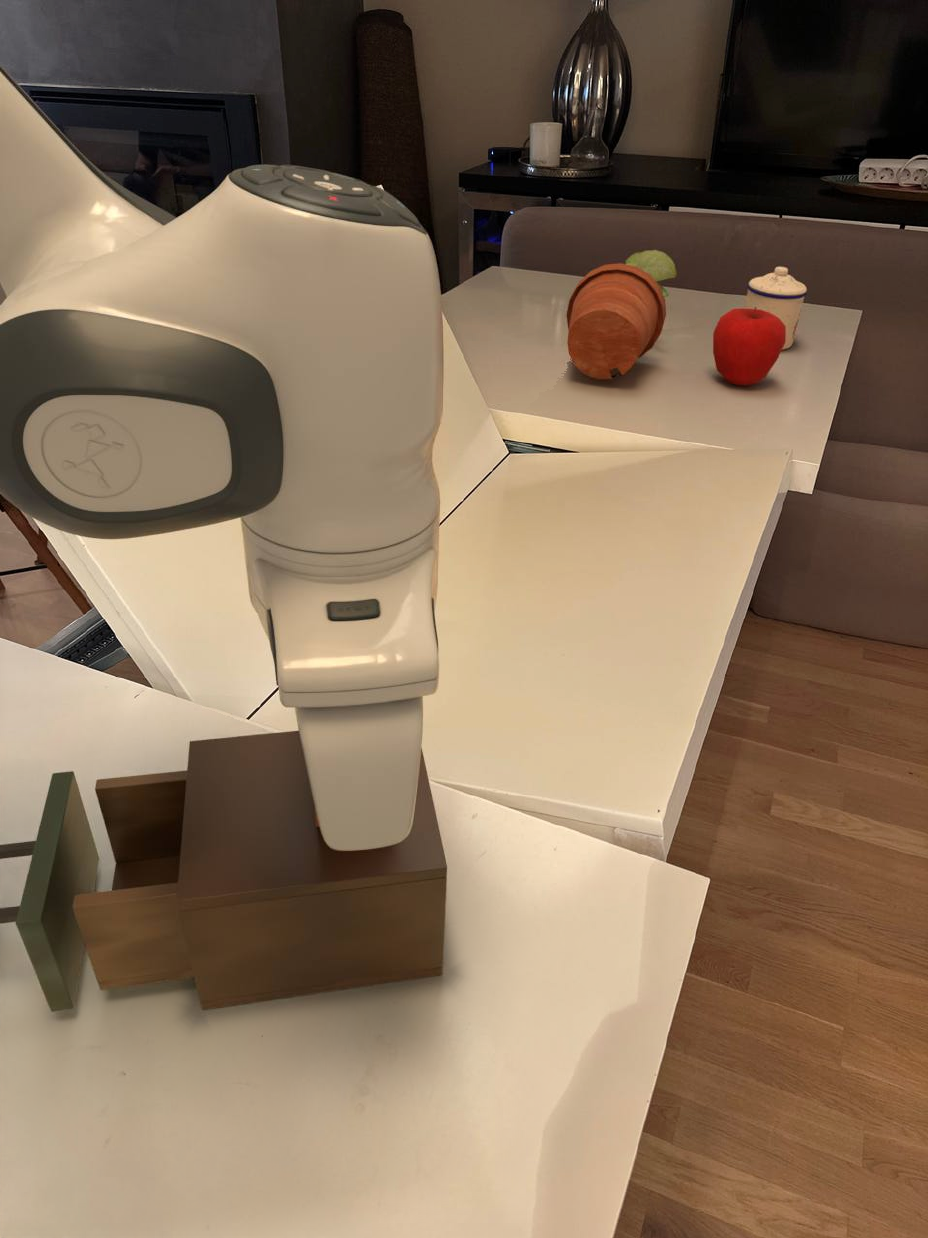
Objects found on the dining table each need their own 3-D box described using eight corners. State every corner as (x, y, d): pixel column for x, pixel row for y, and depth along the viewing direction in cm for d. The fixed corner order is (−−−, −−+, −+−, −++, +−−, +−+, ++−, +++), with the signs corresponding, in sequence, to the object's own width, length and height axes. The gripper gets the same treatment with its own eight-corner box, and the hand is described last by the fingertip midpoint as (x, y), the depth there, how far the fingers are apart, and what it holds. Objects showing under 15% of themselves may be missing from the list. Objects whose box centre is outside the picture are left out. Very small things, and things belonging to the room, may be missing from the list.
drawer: (-43, 1026, 48) (-90, 936, 44) (0, 870, 57) (-35, 781, 52) (285, 979, 51) (274, 891, 47) (281, 837, 60) (271, 750, 55)
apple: (693, 381, 132) (707, 305, 126) (723, 365, 138) (738, 292, 132) (756, 400, 127) (775, 322, 121) (784, 382, 133) (803, 307, 127)
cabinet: (201, 1010, 50) (176, 901, 45) (209, 848, 60) (189, 740, 54) (442, 975, 53) (447, 867, 47) (414, 824, 62) (415, 718, 56)
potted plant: (651, 406, 128) (677, 314, 154) (661, 299, 118) (687, 219, 144) (542, 397, 132) (585, 308, 158) (544, 292, 122) (589, 216, 148)
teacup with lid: (803, 350, 145) (823, 275, 138) (751, 352, 143) (768, 276, 137) (769, 326, 155) (785, 255, 148) (719, 328, 153) (734, 255, 146)
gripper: (270, 461, 50) (288, 660, 58) (278, 707, 33) (301, 936, 41) (385, 456, 51) (387, 652, 59) (447, 691, 35) (438, 918, 43)
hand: (352, 772), depth 50 cm, fingers closed on block, 4 cm apart
